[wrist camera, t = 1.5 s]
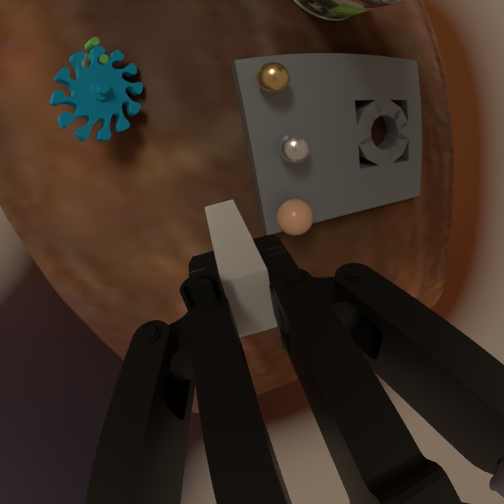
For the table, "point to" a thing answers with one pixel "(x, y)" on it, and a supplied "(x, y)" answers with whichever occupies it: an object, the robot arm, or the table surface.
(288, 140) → the steel ball
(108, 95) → the gear
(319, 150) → the plate
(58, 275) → the table surface
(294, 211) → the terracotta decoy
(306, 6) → the coffee can
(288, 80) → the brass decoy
